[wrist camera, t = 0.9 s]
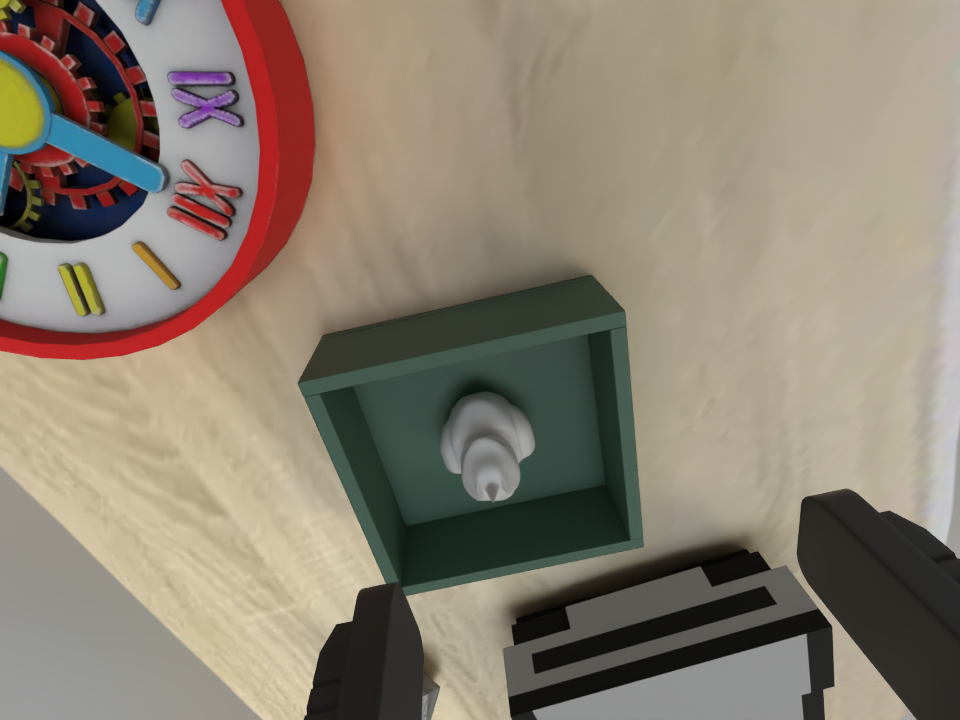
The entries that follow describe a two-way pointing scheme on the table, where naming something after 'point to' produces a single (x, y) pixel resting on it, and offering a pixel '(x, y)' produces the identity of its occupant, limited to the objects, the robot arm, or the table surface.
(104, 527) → the table surface
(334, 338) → the box
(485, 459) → the grey rounded piece
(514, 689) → the game console
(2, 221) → the toy clock
